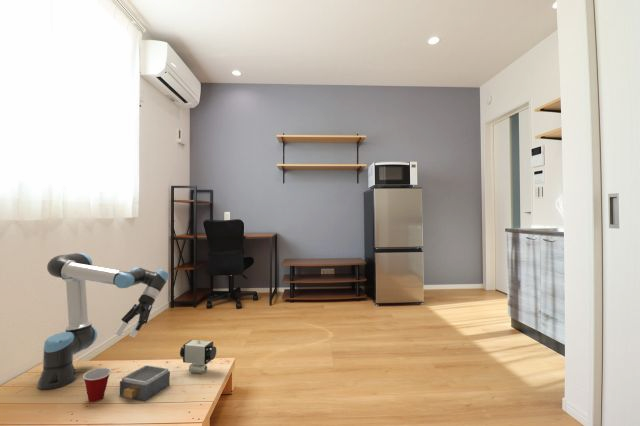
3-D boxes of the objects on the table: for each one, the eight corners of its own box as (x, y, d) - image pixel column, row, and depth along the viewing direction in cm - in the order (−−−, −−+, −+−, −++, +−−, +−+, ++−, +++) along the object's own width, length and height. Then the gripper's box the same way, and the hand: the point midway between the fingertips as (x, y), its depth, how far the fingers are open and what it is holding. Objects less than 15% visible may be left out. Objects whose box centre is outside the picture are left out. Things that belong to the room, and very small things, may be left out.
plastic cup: (92, 407, 137) (93, 379, 137) (76, 402, 140) (77, 375, 141) (116, 395, 147) (116, 369, 147) (100, 391, 151) (101, 365, 151)
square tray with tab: (114, 399, 143) (115, 380, 144) (145, 381, 160) (146, 364, 160) (140, 404, 139) (141, 385, 140) (169, 385, 156) (170, 368, 156)
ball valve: (217, 370, 173) (218, 337, 174) (209, 377, 165) (210, 343, 166) (188, 367, 176) (189, 335, 177) (178, 374, 168) (179, 341, 169)
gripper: (167, 300, 165) (144, 340, 152) (141, 299, 177) (118, 336, 164) (156, 293, 160) (131, 334, 147) (130, 293, 173) (105, 331, 160)
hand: (124, 335), depth 156 cm, fingers open, 13 cm apart
